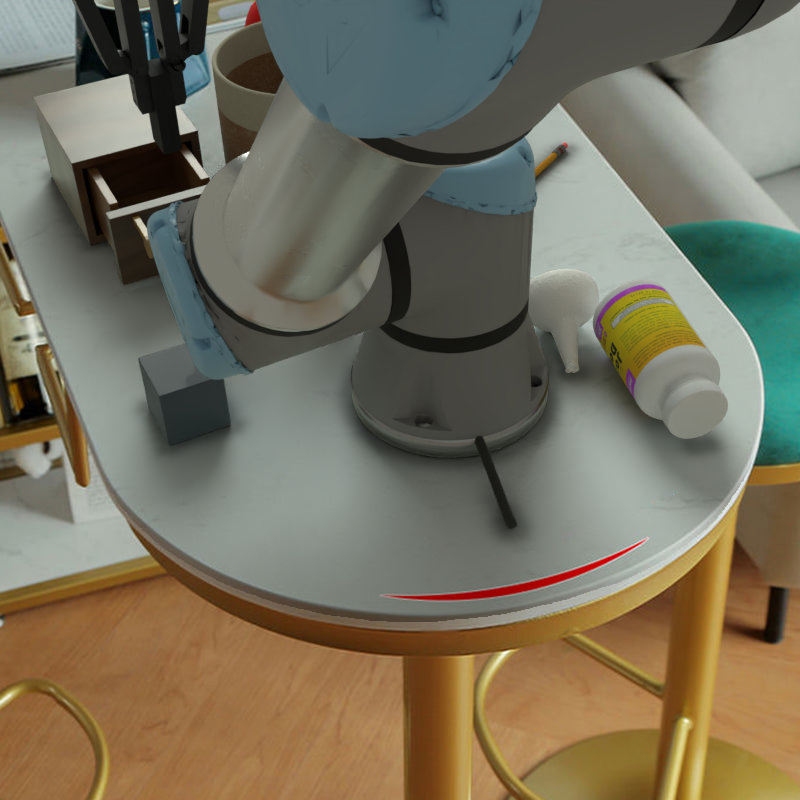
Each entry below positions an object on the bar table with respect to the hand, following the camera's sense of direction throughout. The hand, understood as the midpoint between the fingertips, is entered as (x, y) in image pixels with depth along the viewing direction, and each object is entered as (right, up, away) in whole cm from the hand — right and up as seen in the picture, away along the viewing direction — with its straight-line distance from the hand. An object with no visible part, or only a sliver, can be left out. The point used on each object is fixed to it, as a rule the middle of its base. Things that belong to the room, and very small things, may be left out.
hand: (167, 144), depth 98 cm
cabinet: (-8, 0, +23) cm, 24 cm away
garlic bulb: (+31, -10, +4) cm, 33 cm away
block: (+2, -21, -1) cm, 21 cm away
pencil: (+29, 0, +21) cm, 36 cm away
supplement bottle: (+36, -13, +2) cm, 39 cm away
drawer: (-3, -6, +14) cm, 16 cm away
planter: (+10, 0, +23) cm, 25 cm away
